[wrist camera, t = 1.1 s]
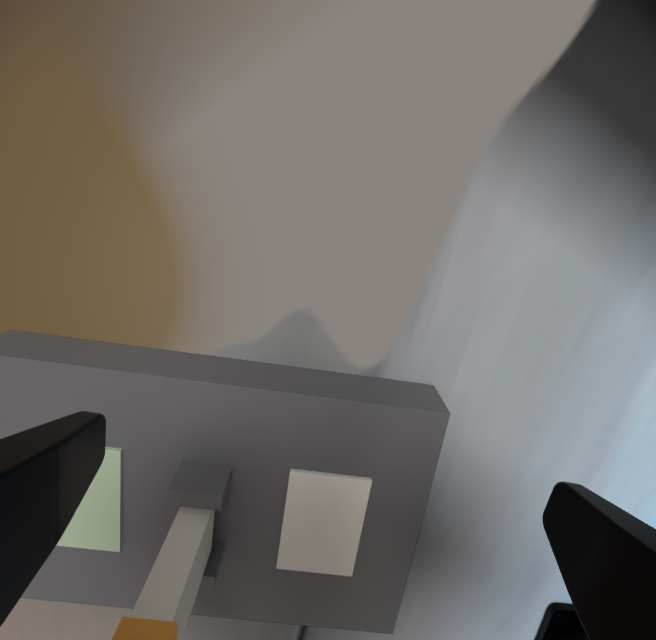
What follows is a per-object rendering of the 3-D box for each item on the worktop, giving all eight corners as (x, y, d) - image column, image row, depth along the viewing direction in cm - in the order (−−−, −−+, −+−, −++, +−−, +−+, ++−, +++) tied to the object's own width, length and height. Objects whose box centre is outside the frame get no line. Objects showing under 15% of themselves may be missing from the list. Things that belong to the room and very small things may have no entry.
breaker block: (384, 585, 26) (399, 673, 21) (26, 548, 25) (-45, 632, 20) (433, 385, 22) (464, 437, 17) (10, 329, 21) (-83, 368, 16)
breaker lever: (217, 542, 21) (160, 731, 13) (181, 538, 21) (104, 726, 13) (222, 489, 20) (164, 661, 13) (185, 485, 20) (104, 655, 12)
